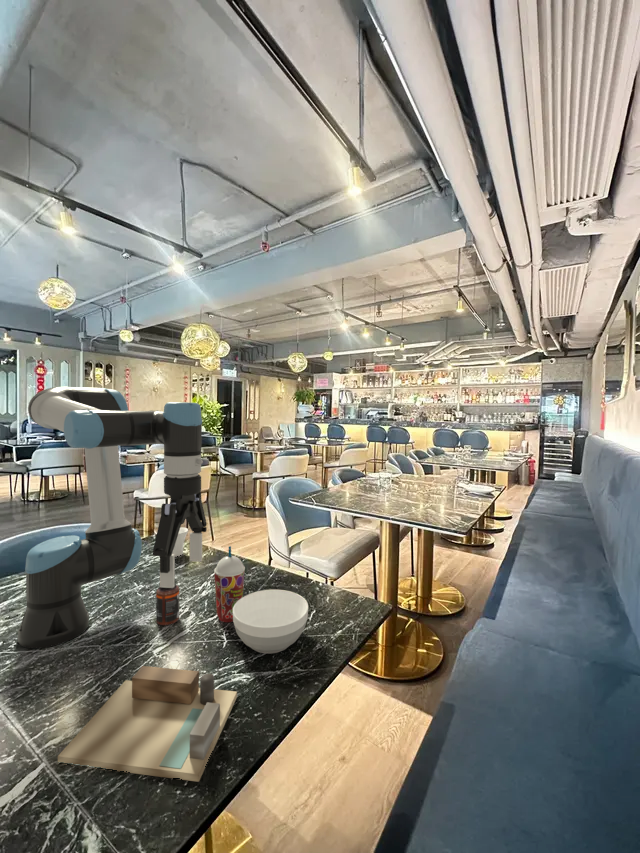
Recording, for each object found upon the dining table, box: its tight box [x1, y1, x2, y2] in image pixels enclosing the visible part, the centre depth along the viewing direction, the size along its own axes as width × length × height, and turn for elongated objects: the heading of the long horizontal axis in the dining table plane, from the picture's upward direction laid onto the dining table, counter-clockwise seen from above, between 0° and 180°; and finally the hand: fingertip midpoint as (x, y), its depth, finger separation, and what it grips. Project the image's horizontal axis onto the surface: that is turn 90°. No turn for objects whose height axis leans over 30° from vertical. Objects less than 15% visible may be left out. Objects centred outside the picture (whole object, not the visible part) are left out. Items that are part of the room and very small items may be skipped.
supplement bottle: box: [155, 580, 180, 626], centre depth 106 cm, size 6×6×11 cm
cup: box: [172, 526, 189, 558], centre depth 154 cm, size 9×9×10 cm
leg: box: [131, 665, 200, 704], centre depth 77 cm, size 12×4×4 cm, turn 83°
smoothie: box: [213, 545, 246, 623], centre depth 108 cm, size 8×8×20 cm
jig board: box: [57, 673, 238, 783], centre depth 71 cm, size 24×18×6 cm
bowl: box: [233, 589, 309, 655], centre depth 98 cm, size 19×19×9 cm
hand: (182, 572), depth 84 cm, fingers open, 13 cm apart
